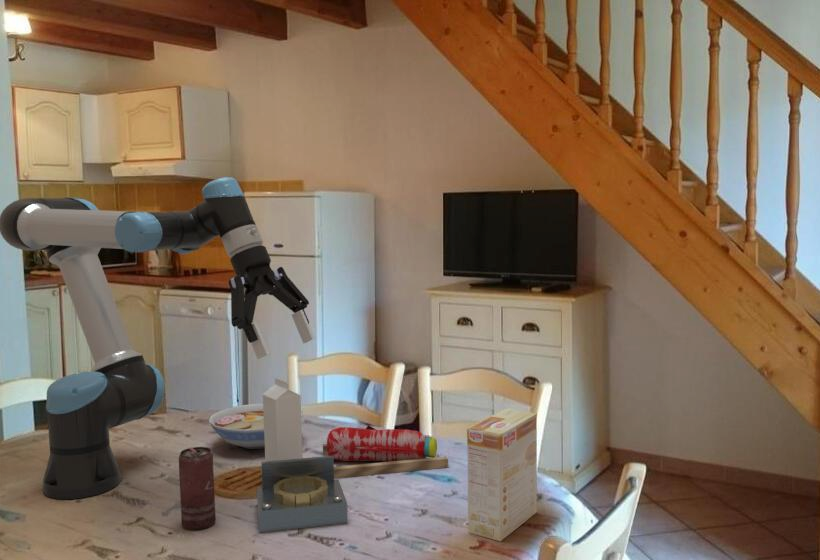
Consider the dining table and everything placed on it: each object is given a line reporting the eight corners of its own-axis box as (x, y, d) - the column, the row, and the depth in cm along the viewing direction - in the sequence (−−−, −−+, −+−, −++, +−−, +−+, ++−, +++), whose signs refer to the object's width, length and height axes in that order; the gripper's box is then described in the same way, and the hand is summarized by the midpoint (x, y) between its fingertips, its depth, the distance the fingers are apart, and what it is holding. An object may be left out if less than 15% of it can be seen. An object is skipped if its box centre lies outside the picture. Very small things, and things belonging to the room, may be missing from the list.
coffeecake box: (505, 504, 147) (505, 407, 145) (538, 512, 143) (539, 412, 140) (465, 532, 134) (465, 426, 132) (501, 542, 130) (501, 433, 128)
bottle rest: (331, 478, 162) (331, 469, 161) (322, 452, 179) (322, 444, 178) (448, 467, 167) (448, 458, 167) (428, 443, 184) (428, 435, 184)
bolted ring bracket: (259, 532, 136) (257, 484, 135) (257, 506, 147) (256, 462, 146) (347, 523, 139) (346, 476, 138) (338, 498, 151) (337, 455, 150)
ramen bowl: (226, 429, 198) (224, 399, 197) (312, 429, 197) (311, 398, 196) (195, 462, 173) (193, 427, 172) (293, 462, 172) (292, 427, 171)
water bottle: (337, 421, 181) (440, 425, 178) (337, 455, 181) (440, 459, 177) (324, 428, 169) (434, 432, 166) (323, 464, 169) (434, 468, 165)
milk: (278, 488, 157) (274, 385, 154) (265, 479, 162) (261, 379, 159) (304, 480, 161) (300, 380, 158) (290, 473, 165) (287, 375, 163)
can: (202, 514, 144) (198, 443, 143) (222, 522, 140) (219, 449, 139) (174, 524, 140) (170, 451, 138) (194, 533, 136) (191, 458, 134)
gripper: (211, 251, 139) (255, 357, 137) (299, 237, 159) (338, 329, 158) (187, 266, 143) (229, 369, 141) (276, 251, 164) (314, 341, 162)
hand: (287, 348), depth 149 cm, fingers open, 13 cm apart
